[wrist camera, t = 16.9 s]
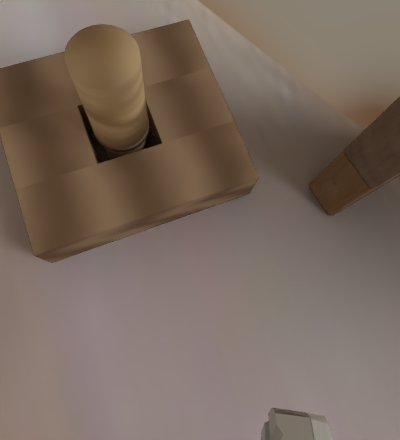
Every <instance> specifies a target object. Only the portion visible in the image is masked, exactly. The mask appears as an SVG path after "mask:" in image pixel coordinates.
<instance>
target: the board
mask: <svg viewBox="0 0 400 440" xmlns="http://www.w3.org/2000/svg"><path fill="white" fill-rule="evenodd" d="M131 36H132V37H133V38H134V39H135V41H136V42H137V44H138V46H139V50H140V57H141V65H142V74H143V82H144V91H145V99H146V108H147V116H148V120H149V127H150V129H151V132H152V134H153V137H154V139H155V142H156V146H153V147H150V148H146V149H143V150H140V151H137V152H134V153H130V154H127V155H124V156H121V157H118V158H115V159H111V160H108V161H105V162H102V163H100V162H99V159H98V156H97V154H96V151H95V148H94V145H93V142H92V139H91V136H90V133H89V130H91V129H92V126H91V124H90V121H89V119H88V116H87V114H86V112H85V109H84V107H83V104H82V102H81V100H80V97H79V95H78V92H77V90H76V88H75V85H74V83H73V80H72V78H71V76H70V73H69V71H68V68H67V66H66V63H65V57H64V55H65V52H61V53H58V54H54V55H50V56H46V57H42V58H38V59H34V60H31V61H27V62H23V63H19V64H15V65H11V66H7V67H4V68H0V136H1V140H2V144H3V147H4V151H5V154H6V158H7V161H8V165H9V168H10V172H11V176H12V179H13V183H14V186H15V190H16V193H17V197H18V201H19V204H20V208H21V211H22V215H23V218H24V222H25V226H26V229H27V233H28V236H29V240H30V243H31V247H32V250H33V254H34V255H35V256H37V257H39V258H42V259H44V260H47V261H49V262H51V263H53V262H56V261H59V260H61V259H64V258H67V257H70V256H73V255H76V254H78V253H81V252H84V251H87V250H90V249H93V248H95V247H98V246H101V245H104V244H107V243H110V242H113V241H115V240H118V239H121V238H124V237H127V236H130V235H132V234H135V233H138V232H141V231H144V230H147V229H149V228H152V227H155V226H158V225H161V224H164V223H167V222H169V221H172V220H175V219H178V218H181V217H184V216H186V215H189V214H192V213H195V212H198V211H201V210H203V209H206V208H209V207H212V206H215V205H218V204H221V203H223V202H226V201H229V200H232V199H235V198H238V197H240V196H243V195H246V194H249V193H250V191H251V190H252V188H253V187H254V185H255V183H256V182H257V180H258V179H259V175H258V173H257V170H256V168H255V166H254V164H253V162H252V159H251V157H250V155H249V153H248V150H247V148H246V146H245V144H244V141H243V139H242V137H241V135H240V132H239V130H238V128H237V126H236V124H235V121H234V119H233V117H232V115H231V112H230V110H229V108H228V106H227V103H226V101H225V99H224V97H223V95H222V92H221V90H220V88H219V86H218V83H217V81H216V79H215V77H214V74H213V72H212V70H211V68H210V66H209V63H208V61H207V59H206V57H205V54H204V52H203V50H202V48H201V45H200V43H199V41H198V39H197V36H196V34H195V32H194V30H193V28H192V25H191V23H190V21H189V20H185V21H181V22H177V23H173V24H170V25H166V26H162V27H158V28H154V29H150V30H146V31H143V32H139V33H135V34H131Z"/></svg>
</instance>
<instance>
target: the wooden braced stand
mask: <svg viewBox="0 0 400 440" xmlns="http://www.w3.org/2000/svg"><path fill="white" fill-rule="evenodd" d="M399 175H400V97H399V98H398V99H397V100H396V101H395V102H393V104H391V105H390V106H389V107H388V108H387V109H386V110H385V111H384V112H383V113H382V114H381V115H380V116H379V117H378V118H377V119H376V120H375V121H374V122H373V123H372V124H371V125H370V126H368V127H367V128H366V129H365V130H364V131H363V132H362V133H361V134H360V135H359V136H358V137H357V138H356V139H355V140H354V141H353V142H352V143H351V144H350V145H349V146H348V147H346V148H345V150H344V151H343V152H342V153H341V154H340V155H339V156H338V157H337V158H336V159H335V160H334V161H333V162H332V163H331V164H330V165H329V166H328V167H327V168H326V169H325V170H323V171H322V172H321V173H320V174H319V175H318V176H317V177H316V178H315V179H314V180H313V181H312V182H311V183H310V185H309V186H310V189H311V190H312V192H313V193H314V194H315V196H316V197H317V199H318V200H319V202H320V203H321V205H322V206H323V208H324V209H325V210H326V212H327V213H328V214H329V215H334V214H336V213H338V212H339V211H341V210H343V209H344V208H346V207H348V206H349V205H351V204H353V203H354V202H356V201H358V200H359V199H361V198H363V197H364V196H366V195H367V194H369V193H371V192H372V191H374V190H376V189H377V188H379V187H381V186H383V185H384V184H386V183H388V182H389V181H391V180H393V179H394V178H396V177H397V176H399Z"/></svg>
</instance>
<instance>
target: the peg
mask: <svg viewBox="0 0 400 440" xmlns="http://www.w3.org/2000/svg"><path fill="white" fill-rule="evenodd" d="M64 57H65V63H66V66H67V68H68V71H69V73H70V76H71V78H72V80H73V83H74V85H75V88H76V90H77V92H78V95H79V97H80V100H81V102H82V104H83V107H84V109H85V112H86V114H87V116H88V119H89V121H90V124H91V126H92V130H93V133H94V135H95V137H96V139H97V141H98V142H99V143H100V144H101V145H102V146H103V147H104V148H105V151H106V153H107V156H108V157H109V159H110V160H111V159H115V158H118V157H121V156H124V155H127V154H130V153H134V152H137V151H140V150H143V149H146V148H148V145H147V136H148V133H149V120H148V116H147V108H146V99H145V91H144V82H143V74H142V65H141V57H140V50H139V46H138V44H137V42H136V41H135V39H134V38H133V37H132V36H131V35H130V34H129V33H128V32H126V31H125V30H123V29H121V28H119V27H116V26H112V25H102V24H101V25H93V26H89V27H86V28H84V29H82V30H80V31H79V32H77V33H76V34H75V35H74V36H73V37H72V38H71V39H70V40H69V42H68V44H67V46H66V49H65V55H64Z"/></svg>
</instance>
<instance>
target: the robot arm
mask: <svg viewBox="0 0 400 440" xmlns="http://www.w3.org/2000/svg"><path fill="white" fill-rule="evenodd" d="M268 416H269V421H268V422H266V423H264V426H263V429H262V433H261V440H333V439H332V435H331V430H330V426H329V422H328V420H327V418H326V417H325V416H321V415H315V414H309V413H305V412H298V411H292V410H285V409H278V408H272V409H270V412H269V414H268Z"/></svg>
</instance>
